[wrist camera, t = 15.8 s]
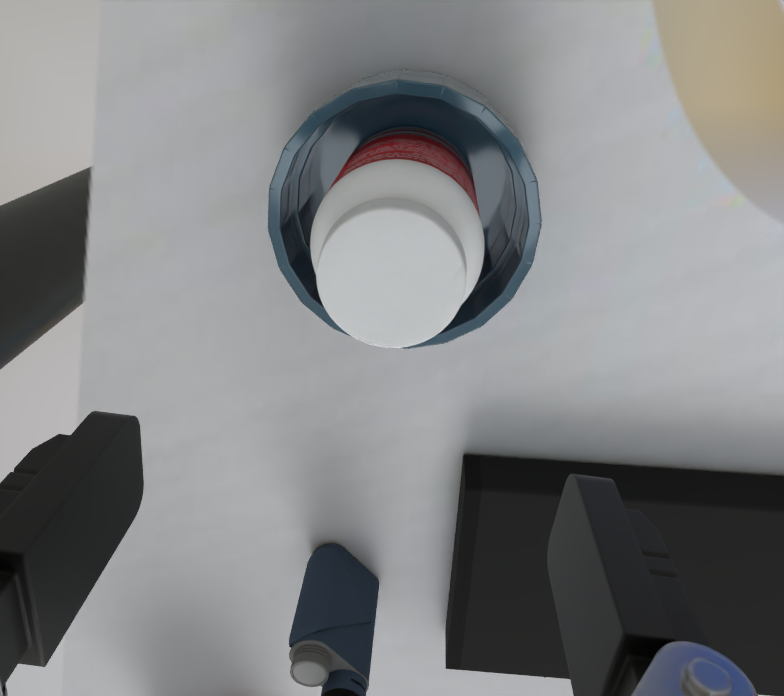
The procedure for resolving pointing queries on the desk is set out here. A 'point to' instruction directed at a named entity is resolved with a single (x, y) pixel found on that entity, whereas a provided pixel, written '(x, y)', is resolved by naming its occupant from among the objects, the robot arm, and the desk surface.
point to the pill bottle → (398, 238)
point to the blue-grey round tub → (440, 115)
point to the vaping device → (334, 624)
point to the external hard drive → (680, 534)
